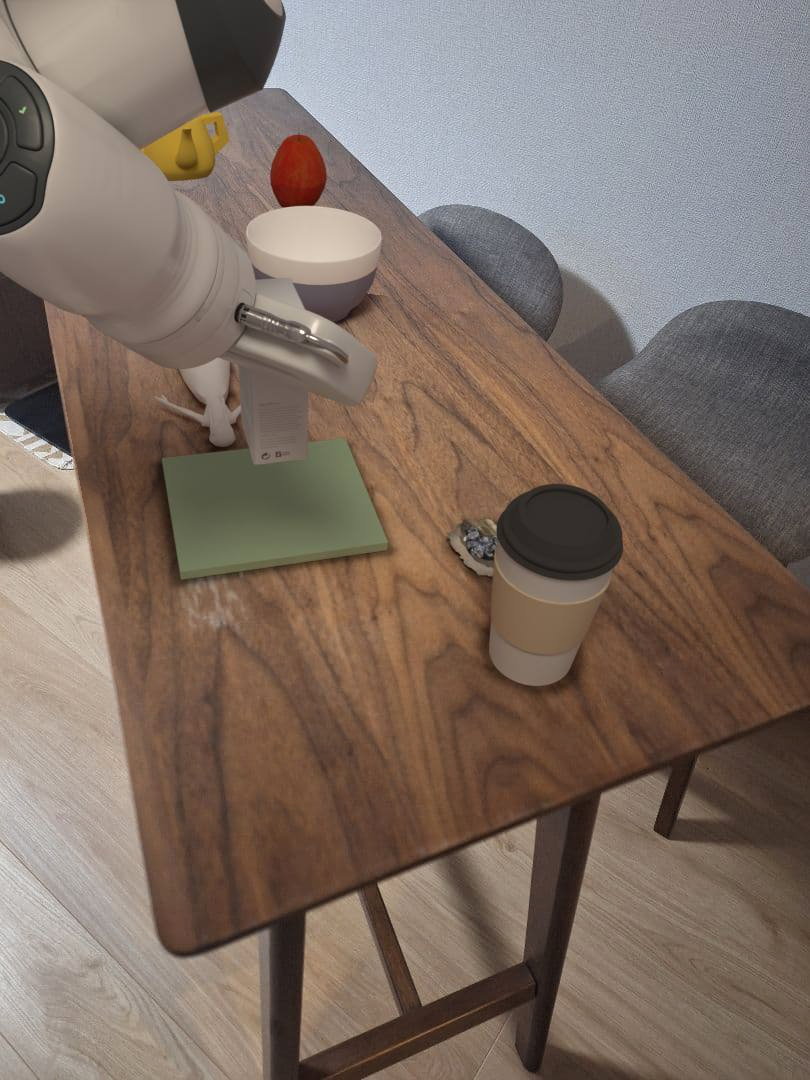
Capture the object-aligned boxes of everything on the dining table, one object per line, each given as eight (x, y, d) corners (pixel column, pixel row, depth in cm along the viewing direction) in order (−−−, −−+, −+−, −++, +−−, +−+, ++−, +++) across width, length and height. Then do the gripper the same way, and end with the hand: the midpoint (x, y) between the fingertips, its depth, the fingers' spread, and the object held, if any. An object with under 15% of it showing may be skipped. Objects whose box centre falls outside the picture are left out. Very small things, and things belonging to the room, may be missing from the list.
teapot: (116, 176, 140) (106, 107, 133) (164, 149, 149) (158, 84, 143) (194, 194, 137) (188, 125, 130) (239, 167, 146) (235, 101, 140)
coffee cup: (458, 672, 71) (483, 527, 61) (495, 598, 77) (523, 455, 67) (570, 713, 69) (615, 569, 59) (598, 633, 75) (643, 492, 65)
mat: (180, 580, 76) (179, 571, 76) (162, 466, 88) (161, 457, 87) (387, 550, 81) (388, 542, 80) (345, 445, 92) (345, 437, 92)
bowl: (360, 349, 107) (364, 272, 100) (230, 326, 108) (225, 249, 102) (389, 289, 118) (394, 217, 112) (271, 269, 120) (270, 197, 114)
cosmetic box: (309, 460, 69) (309, 316, 61) (253, 467, 67) (245, 321, 60) (293, 415, 73) (291, 275, 65) (240, 421, 72) (231, 279, 64)
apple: (323, 220, 133) (324, 145, 126) (267, 216, 133) (265, 139, 126) (328, 199, 139) (329, 125, 132) (274, 194, 139) (272, 120, 132)
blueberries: (476, 513, 86) (478, 498, 84) (547, 554, 82) (551, 538, 81) (432, 548, 82) (434, 532, 80) (505, 592, 78) (508, 576, 77)
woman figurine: (250, 318, 101) (283, 418, 89) (251, 352, 104) (283, 453, 92) (142, 326, 98) (161, 431, 86) (146, 361, 101) (165, 467, 89)
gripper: (349, 288, 50) (418, 366, 63) (65, 195, 56) (182, 284, 69) (303, 394, 50) (383, 451, 63) (25, 289, 56) (149, 360, 69)
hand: (275, 362), depth 66 cm, fingers closed on cosmetic box, 7 cm apart
